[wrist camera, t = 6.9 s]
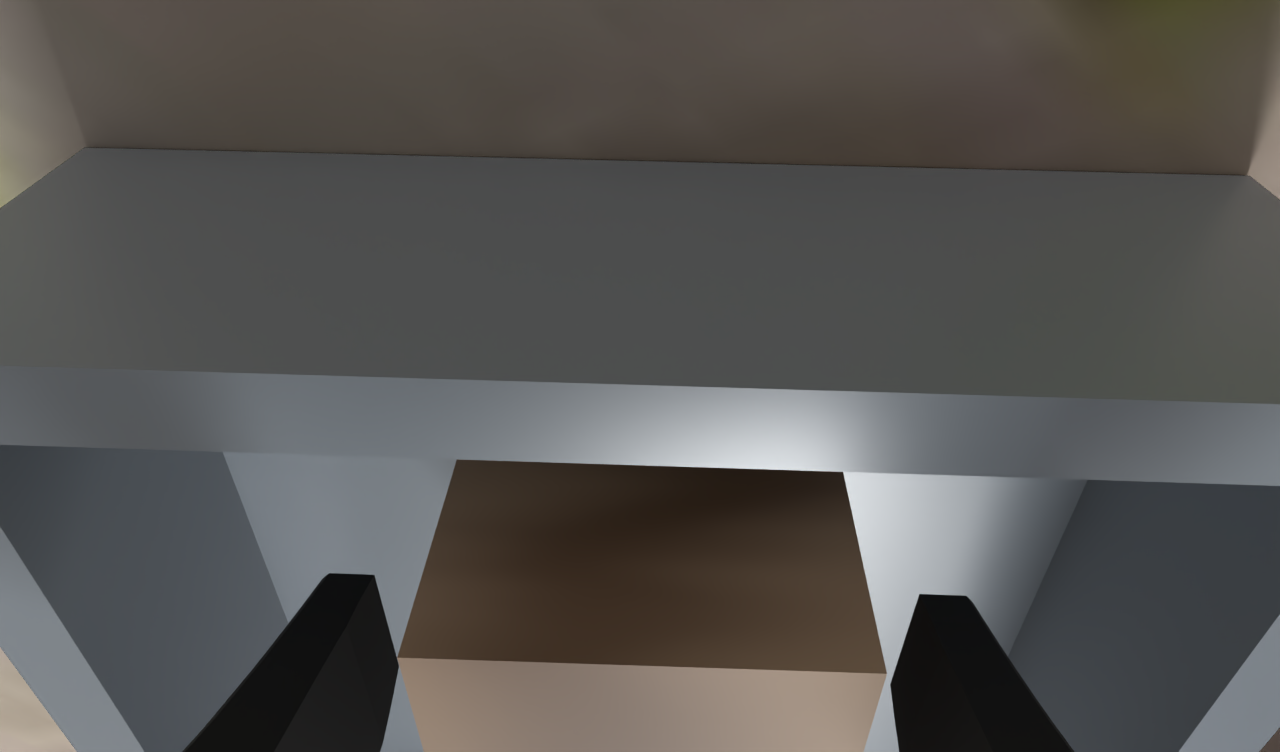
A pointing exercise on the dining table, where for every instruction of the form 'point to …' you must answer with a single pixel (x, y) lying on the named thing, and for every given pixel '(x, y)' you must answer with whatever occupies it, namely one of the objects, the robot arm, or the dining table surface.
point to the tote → (641, 404)
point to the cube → (642, 613)
